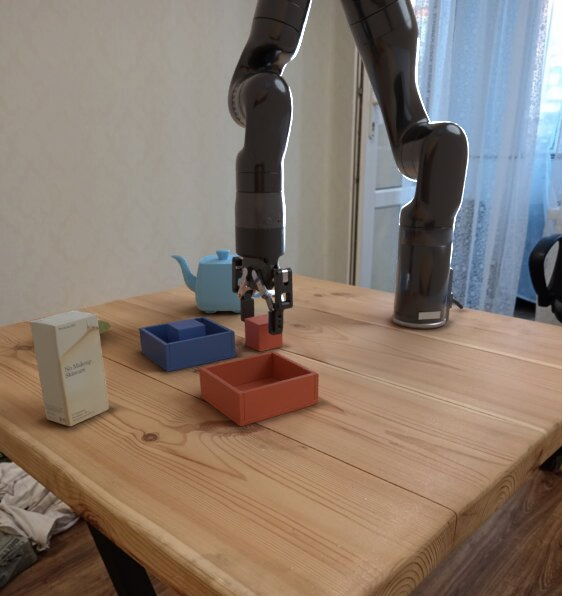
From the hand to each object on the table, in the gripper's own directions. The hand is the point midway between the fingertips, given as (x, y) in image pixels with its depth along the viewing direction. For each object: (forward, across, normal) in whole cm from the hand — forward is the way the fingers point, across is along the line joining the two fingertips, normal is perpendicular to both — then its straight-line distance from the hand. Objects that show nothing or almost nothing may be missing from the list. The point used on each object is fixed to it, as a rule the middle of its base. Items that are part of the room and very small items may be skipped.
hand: (261, 327), depth 92 cm
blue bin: (+3, +3, +12) cm, 12 cm away
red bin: (+3, -18, +12) cm, 22 cm away
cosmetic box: (+4, -9, +32) cm, 33 cm away
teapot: (+3, +25, -5) cm, 26 cm away
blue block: (+3, +3, +12) cm, 12 cm away
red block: (+3, 0, 0) cm, 3 cm away
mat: (+4, +21, +24) cm, 32 cm away
